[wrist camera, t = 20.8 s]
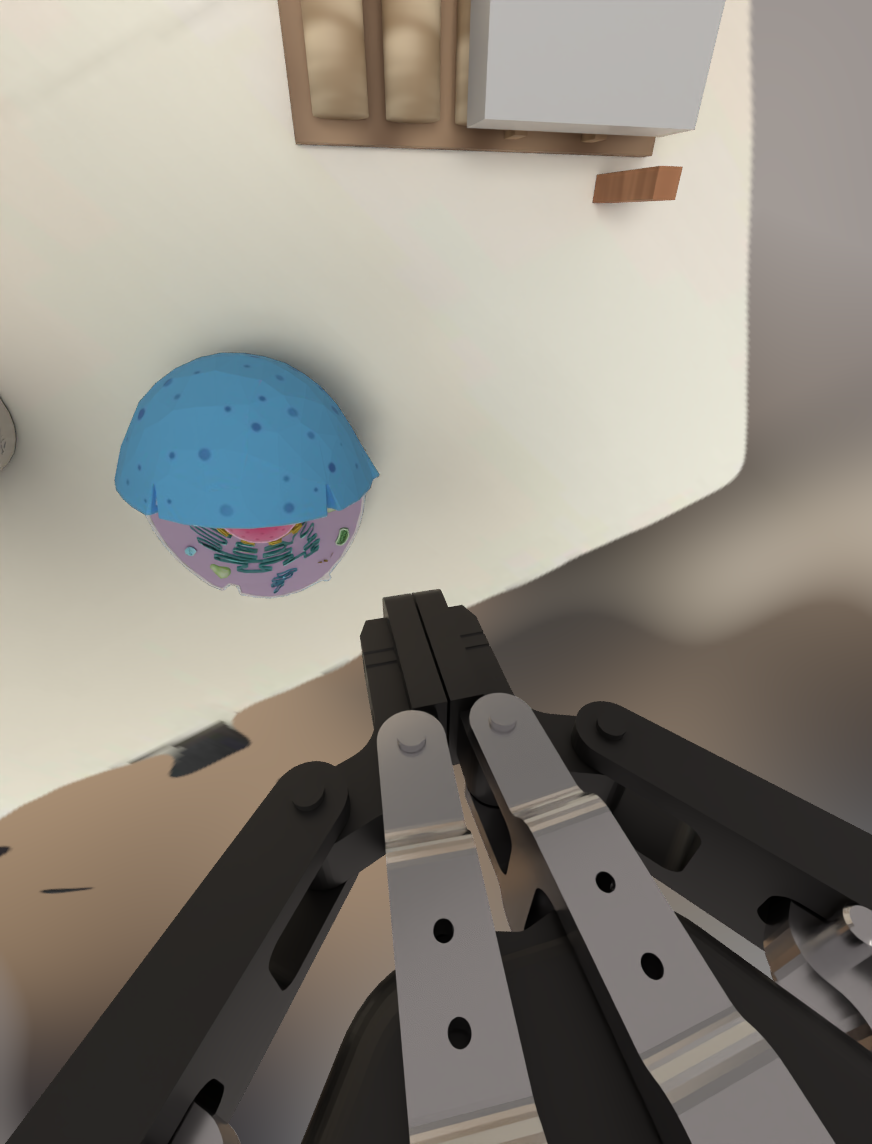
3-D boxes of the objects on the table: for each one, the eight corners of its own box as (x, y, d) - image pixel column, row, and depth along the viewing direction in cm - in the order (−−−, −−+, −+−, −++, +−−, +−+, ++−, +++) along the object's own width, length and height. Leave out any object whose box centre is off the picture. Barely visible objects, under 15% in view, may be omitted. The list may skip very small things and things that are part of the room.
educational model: (178, 561, 42) (136, 697, 30) (123, 318, 31) (23, 380, 19) (360, 554, 46) (385, 670, 34) (366, 338, 35) (407, 398, 23)
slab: (466, 127, 26) (484, 118, 24) (473, -81, 22) (495, -116, 20) (660, 136, 28) (694, 129, 26) (699, -49, 24) (743, -78, 22)
